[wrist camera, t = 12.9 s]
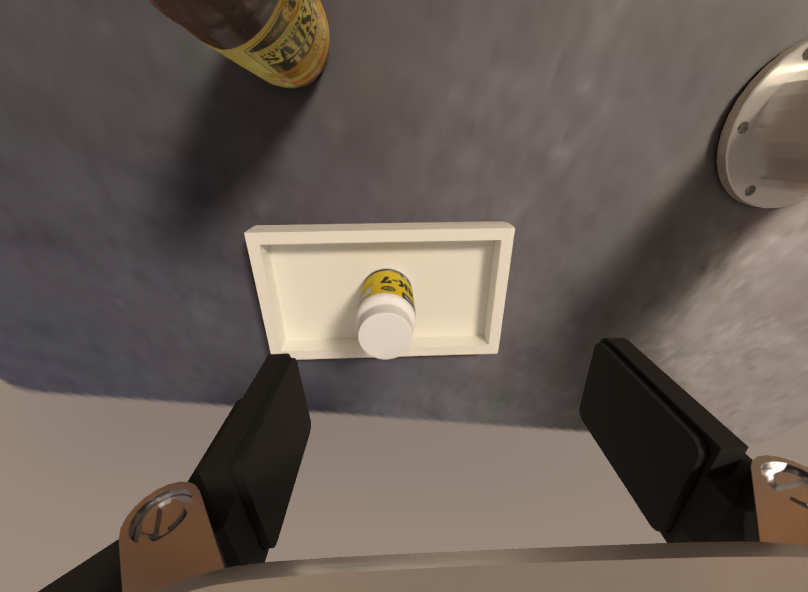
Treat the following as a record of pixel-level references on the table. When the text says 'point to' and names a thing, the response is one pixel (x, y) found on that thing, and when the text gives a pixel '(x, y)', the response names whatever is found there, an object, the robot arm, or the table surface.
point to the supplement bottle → (386, 314)
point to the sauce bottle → (260, 34)
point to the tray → (366, 252)
